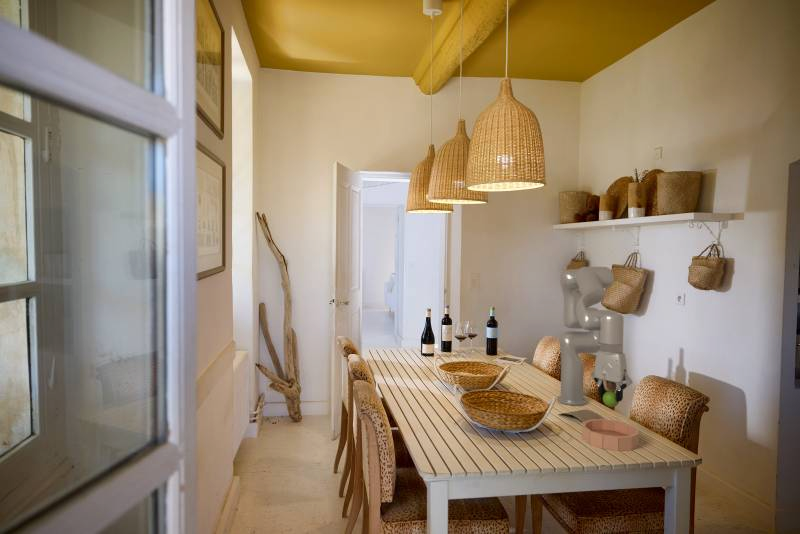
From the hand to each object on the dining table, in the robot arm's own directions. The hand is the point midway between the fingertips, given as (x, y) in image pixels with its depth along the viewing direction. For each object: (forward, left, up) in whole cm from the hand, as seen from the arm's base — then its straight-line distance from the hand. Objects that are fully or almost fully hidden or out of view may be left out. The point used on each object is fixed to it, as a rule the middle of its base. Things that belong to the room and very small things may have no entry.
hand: (610, 398), depth 177 cm
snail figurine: (0, 0, -3) cm, 3 cm away
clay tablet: (-14, -19, -16) cm, 29 cm away
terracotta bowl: (0, 0, -15) cm, 15 cm away
